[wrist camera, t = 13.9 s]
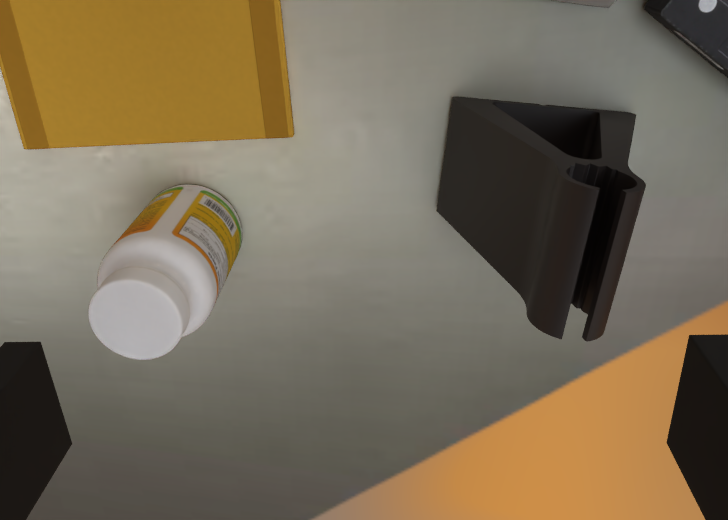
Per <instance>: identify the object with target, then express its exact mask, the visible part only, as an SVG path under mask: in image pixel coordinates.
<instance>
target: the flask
mask: <svg viewBox="0 0 728 520" xmlns="http://www.w3.org/2000/svg"><path fill="white" fill-rule="evenodd" d="M553 1H561V2H568V3H576V4H584V5H591V6H599V7H607V8H609V7H610V6H611V5H612V4H613V3H614V2H616V1H617V0H553Z"/></svg>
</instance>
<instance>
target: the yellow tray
mask: <svg viewBox="0 0 728 520" xmlns="http://www.w3.org/2000/svg"><path fill="white" fill-rule="evenodd" d="M0 67H1V71H2V74H3V78H4V81H5V85H6V88H7V92H8V95H9V99H10V102H11V106H12V109H13V112H14V116H15V119H16V123H17V126H18V130H19V133H20V137H21V140H22V144H23V147H24V149H47V148H65V147H87V146H109V145H131V144H153V143H174V142H196V141H218V140H240V139H262V138H288V137H293V136H294V127H293V118H292V108H291V99H290V89H289V80H288V70H287V61H286V51H285V42H284V33H283V23H282V14H281V4H280V0H0Z"/></svg>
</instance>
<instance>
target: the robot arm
mask: <svg viewBox="0 0 728 520" xmlns="http://www.w3.org/2000/svg"><path fill="white" fill-rule="evenodd" d="M667 444H668V446H669V448H670V450H671V452H672V454H673V456H674V458H675V460H676V462H677V464H678V466H679V468H680V470H681V472H682V474H683V476H684V478H685V480H686V482H687V484H688V486H689V488H690V490H691V492H692V494H693V496H694V498H695V500H696V502H697V504H698V506H699V507H700V510H701V512H702V514H703V515H704V517H705V519H706V520H728V335H689V339H688V344H687V348H686V353H685V358H684V363H683V367H682V372H681V377H680V382H679V386H678V391H677V396H676V401H675V405H674V410H673V415H672V420H671V424H670V429H669V434H668V439H667ZM71 445H72V442H71V438H70V435H69V432H68V429H67V425H66V422H65V419H64V416H63V413H62V409H61V406H60V403H59V400H58V396H57V393H56V390H55V387H54V384H53V380H52V377H51V374H50V371H49V367H48V364H47V361H46V358H45V354H44V351H43V348H42V345H41V342H5V343H4V344H3V345H2V346H1V347H0V520H26V519H27V517H28V515H29V514H30V512H31V510H32V509H33V507H34V505H35V504H36V502H37V500H38V499H39V497H40V496H41V494H42V492H43V491H44V489H45V487H46V486H47V484H48V482H49V481H50V479H51V478H52V476H53V474H54V473H55V471H56V469H57V468H58V466H59V464H60V463H61V461H62V459H63V458H64V456H65V455H66V453H67V451H68V450H69V448H70V446H71Z"/></svg>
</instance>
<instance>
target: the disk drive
mask: <svg viewBox="0 0 728 520" xmlns="http://www.w3.org/2000/svg"><path fill="white" fill-rule="evenodd" d="M644 9H645V11H647V12H648V13H649V14H650V15H652V16H653V17H654V18H655V19H656V20H657V21H659V22H660V23H662V24H663V25H664V26H665V27H666V28H668V29H669V30H670V31H672V32H673V33H674V34H675V35H676V36H677V37H678V38H679V39H681V40H682V41H683V42H684V43H686V44H687V45H688V46H690V47H691V48H692V49H693V50H695V51H696V52H697V53H698V54H700V55H701V56H702V57H703V58H704V59H705V60H707V61H708V62H709V63H710V64H711V65H713V66H714V67H715V68H716V69H718V70H719V71H720V72H721V73H723V74H724V75H725V76H726V77H728V0H649V1H648V2H647V3H646V5H645V8H644Z"/></svg>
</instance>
